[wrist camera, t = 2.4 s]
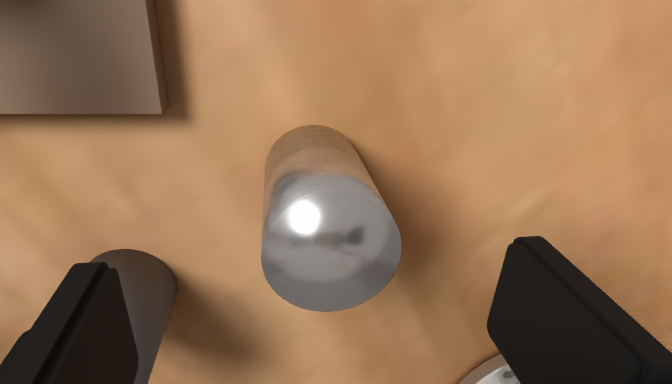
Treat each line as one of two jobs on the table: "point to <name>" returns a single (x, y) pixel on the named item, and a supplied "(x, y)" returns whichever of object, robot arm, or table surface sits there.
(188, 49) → the table surface
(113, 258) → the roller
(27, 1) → the socket board
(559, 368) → the robot arm
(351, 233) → the steel roller
